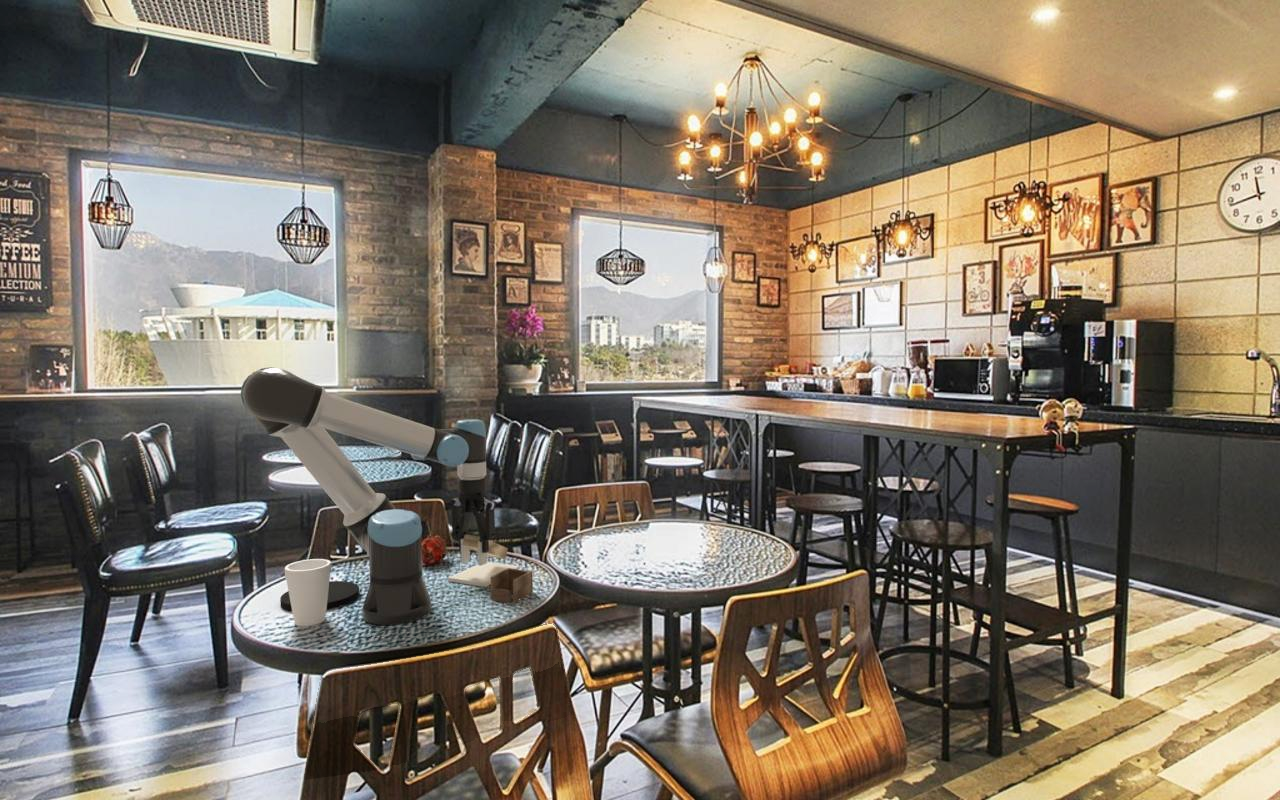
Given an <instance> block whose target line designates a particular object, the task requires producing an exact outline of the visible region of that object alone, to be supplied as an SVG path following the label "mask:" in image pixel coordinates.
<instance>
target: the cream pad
mask: <svg viewBox="0 0 1280 800" xmlns="http://www.w3.org/2000/svg"><path fill="white" fill-rule="evenodd" d="M520 567H521V566H519V565H512V564H505V563H500V562H499V563H498V562H491V561H487V563H486V564H484V565H482V566H479V563H477V564H476V565H473V566H471V567H469V568H467V569H466V570H461V571H460V572H458V573H455V574H453V575H451V576H448V577H447V581H448V582H449V583H457V584H464V585H469V586H470V585H471V586H475V587H482V588H486V587H487V586H489V585H490V586H491V576H493V575H495V574H498V573H500V572H502V571H504V570H506V569H508V568H512V569H520ZM520 570H521V569H520Z"/></svg>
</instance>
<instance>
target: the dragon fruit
mask: <svg viewBox="0 0 1280 800" xmlns="http://www.w3.org/2000/svg"><path fill="white" fill-rule="evenodd" d="M448 553H449V550H448V549H447V540H446V539H445V538H441V536H440V535H434V536H432V535H427V537H426V538H424V539H422V564H423V565H424V566H426V567H427V566H430V565H432V564H435V563H438V564H439V563H441V562H442V561H443V560H444V559H445V558H446V557H447V554H448Z"/></svg>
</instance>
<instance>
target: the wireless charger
mask: <svg viewBox="0 0 1280 800" xmlns="http://www.w3.org/2000/svg"><path fill="white" fill-rule="evenodd" d="M359 596H360V586H359V585H358V584H356V583H355V582H351V581H344V580H343V581H342V580H331V581H329V590H328V600H327V609H326V611H327V610H328V611H329V610H332V609H336V608H340V607H343V606H346V605H348V604H350V603H353V602H354V601H356V600H357V599H358V598H359ZM279 599H280V608H281V609H282V610H284V611H287V612H291V613H293V612H292V607H291V602H290V597H289V591H288V590H287V591H286V592H284V593H283V594H282V595H281V596H280V598H279Z"/></svg>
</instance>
